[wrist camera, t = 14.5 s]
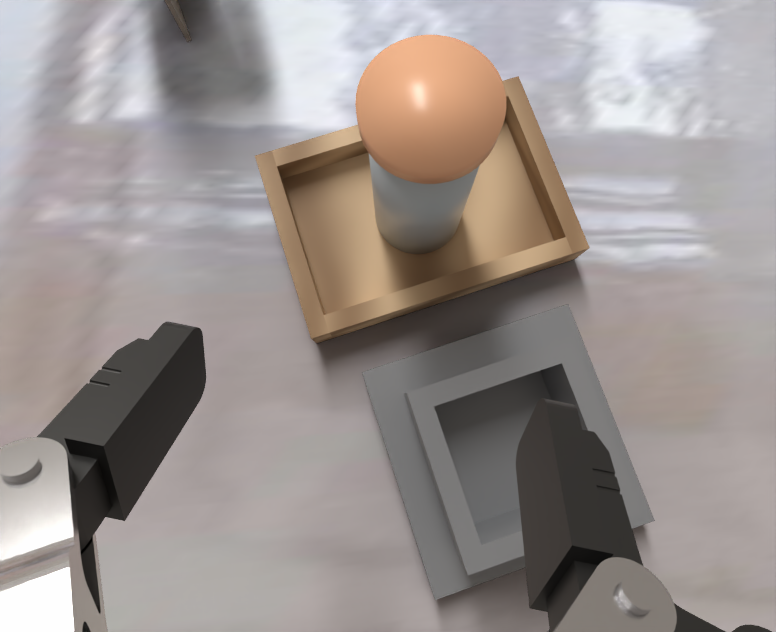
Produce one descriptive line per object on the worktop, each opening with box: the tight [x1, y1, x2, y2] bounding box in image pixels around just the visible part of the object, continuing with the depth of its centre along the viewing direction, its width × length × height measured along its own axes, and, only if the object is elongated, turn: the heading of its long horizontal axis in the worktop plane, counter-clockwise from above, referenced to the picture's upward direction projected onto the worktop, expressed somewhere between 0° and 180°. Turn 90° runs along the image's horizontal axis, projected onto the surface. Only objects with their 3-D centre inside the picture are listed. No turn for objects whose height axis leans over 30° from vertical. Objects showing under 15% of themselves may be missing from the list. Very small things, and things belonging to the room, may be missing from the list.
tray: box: [255, 77, 589, 343], centre depth 29 cm, size 16×11×2 cm
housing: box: [362, 304, 655, 600], centre depth 25 cm, size 12×12×5 cm
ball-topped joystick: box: [356, 35, 506, 254], centre depth 24 cm, size 6×6×11 cm
